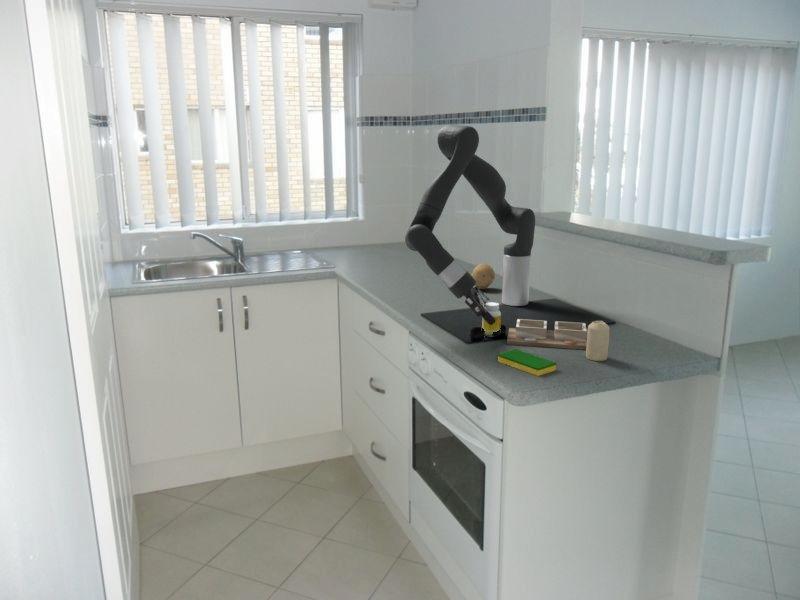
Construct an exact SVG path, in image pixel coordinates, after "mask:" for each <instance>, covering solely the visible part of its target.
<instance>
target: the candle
mask: <svg viewBox="0 0 800 600" xmlns="http://www.w3.org/2000/svg"><path fill="white" fill-rule="evenodd" d="M610 329H611V328H610V326H609V325H608V324H607V323H606V322H604V321H603V320H594V321H592V322H590V324H588V326H587V333H588V334H587V347H586V350H585V358H586V359H588V360H590V361H596V362H603V361H604V362H605V361H606V360H607V359H608V354H609V344H610V343H609V342H610Z"/></svg>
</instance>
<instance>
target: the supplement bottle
mask: <svg viewBox="0 0 800 600" xmlns="http://www.w3.org/2000/svg"><path fill="white" fill-rule="evenodd" d="M485 308H486V309H487V311H488V312H489V313H490V314H491V315H492V316H493V317H494V318H495V319H496V321H495V323H493V324H492V325H489V324H488V323H487V322H486V320H485V319H484V318H483V317H482V318H481V319H482V320H481V321H482V322H481V323H482V325H481V329H482V328H483V329H484V331H485V334H486V335H492V334H493V332H497V331H499V330H500V331H501V329H500V328H501V327H502V326H501V325H502V323H501V321H502V312H501V311H500V303H498V302H493V301H490V302H489V303H486V304H485Z"/></svg>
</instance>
